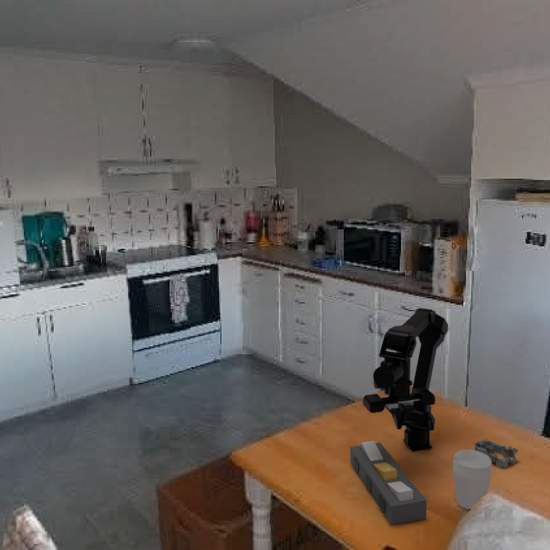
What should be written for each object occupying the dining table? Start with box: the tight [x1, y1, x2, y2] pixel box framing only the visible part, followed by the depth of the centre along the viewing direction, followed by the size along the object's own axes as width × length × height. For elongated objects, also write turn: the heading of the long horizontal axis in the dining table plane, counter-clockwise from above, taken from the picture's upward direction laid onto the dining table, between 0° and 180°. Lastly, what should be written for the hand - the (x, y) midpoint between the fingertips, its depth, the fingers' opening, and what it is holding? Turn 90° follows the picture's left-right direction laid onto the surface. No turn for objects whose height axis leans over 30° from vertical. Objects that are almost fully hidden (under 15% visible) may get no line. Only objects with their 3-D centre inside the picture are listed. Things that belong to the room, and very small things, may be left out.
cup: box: [452, 449, 493, 511], centre depth 138 cm, size 9×9×12 cm
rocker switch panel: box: [349, 442, 428, 526], centre depth 146 cm, size 9×28×5 cm, turn 12°
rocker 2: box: [373, 462, 398, 481], centre depth 145 cm, size 4×7×2 cm, turn 12°
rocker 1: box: [361, 440, 383, 462], centre depth 154 cm, size 4×7×2 cm, turn 12°
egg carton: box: [472, 438, 519, 469], centre depth 158 cm, size 11×8×4 cm
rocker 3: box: [387, 481, 413, 502], centre depth 136 cm, size 4×7×2 cm, turn 12°
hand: (398, 428), depth 153 cm, fingers closed
